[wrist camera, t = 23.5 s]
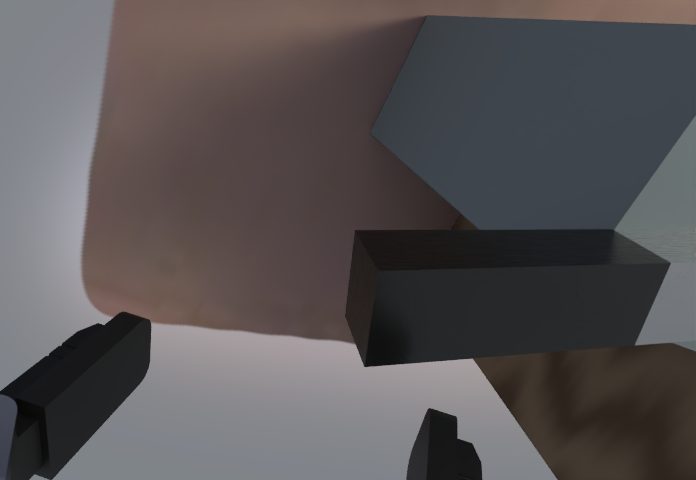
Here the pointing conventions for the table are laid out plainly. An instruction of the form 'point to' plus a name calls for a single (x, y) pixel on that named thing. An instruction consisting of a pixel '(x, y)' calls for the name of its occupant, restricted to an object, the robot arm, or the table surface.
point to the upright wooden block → (603, 407)
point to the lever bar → (517, 291)
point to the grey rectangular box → (550, 122)
